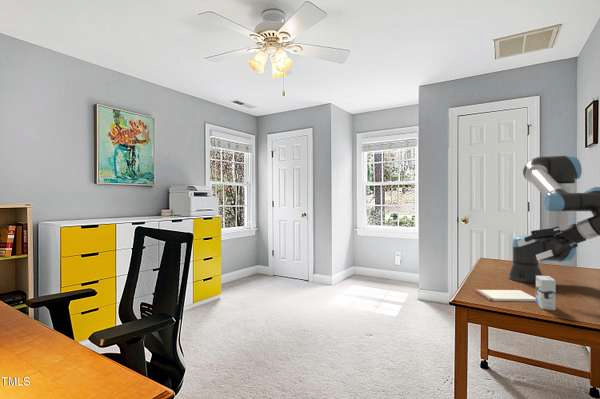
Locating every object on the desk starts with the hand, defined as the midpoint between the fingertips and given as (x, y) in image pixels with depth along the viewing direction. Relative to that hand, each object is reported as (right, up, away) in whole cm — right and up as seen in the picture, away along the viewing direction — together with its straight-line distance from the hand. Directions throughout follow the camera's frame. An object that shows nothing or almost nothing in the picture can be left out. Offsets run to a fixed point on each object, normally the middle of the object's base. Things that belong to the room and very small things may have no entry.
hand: (527, 251), depth 150 cm
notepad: (-9, -20, +1) cm, 22 cm away
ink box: (-1, -21, -12) cm, 24 cm away
